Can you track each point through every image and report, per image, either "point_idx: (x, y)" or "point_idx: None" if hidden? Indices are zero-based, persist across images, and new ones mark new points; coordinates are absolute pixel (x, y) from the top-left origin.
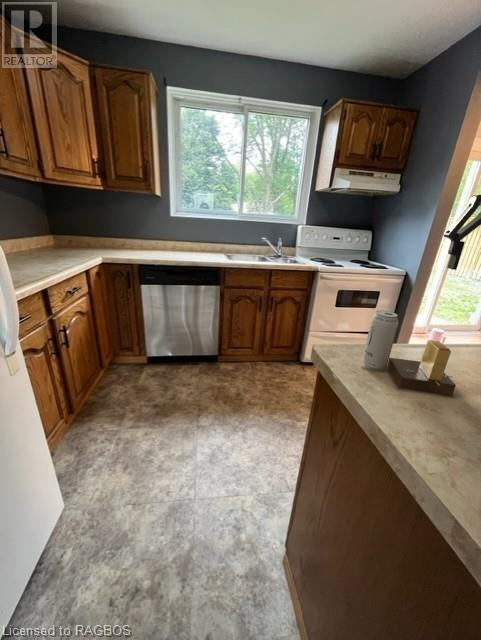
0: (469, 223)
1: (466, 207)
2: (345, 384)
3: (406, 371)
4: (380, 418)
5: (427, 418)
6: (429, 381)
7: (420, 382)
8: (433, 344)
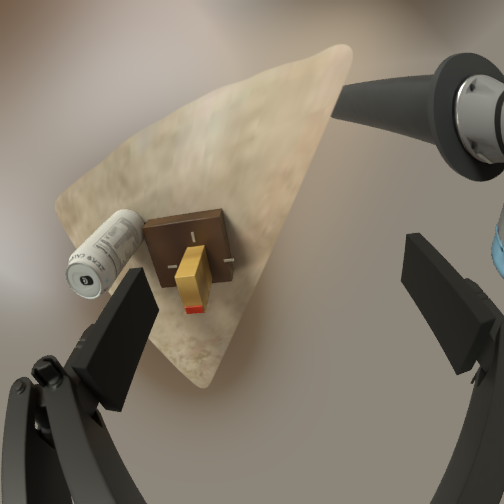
0: (79, 486)
1: None
2: None
3: (167, 268)
4: (150, 333)
5: (193, 321)
6: None
7: None
8: (181, 295)
